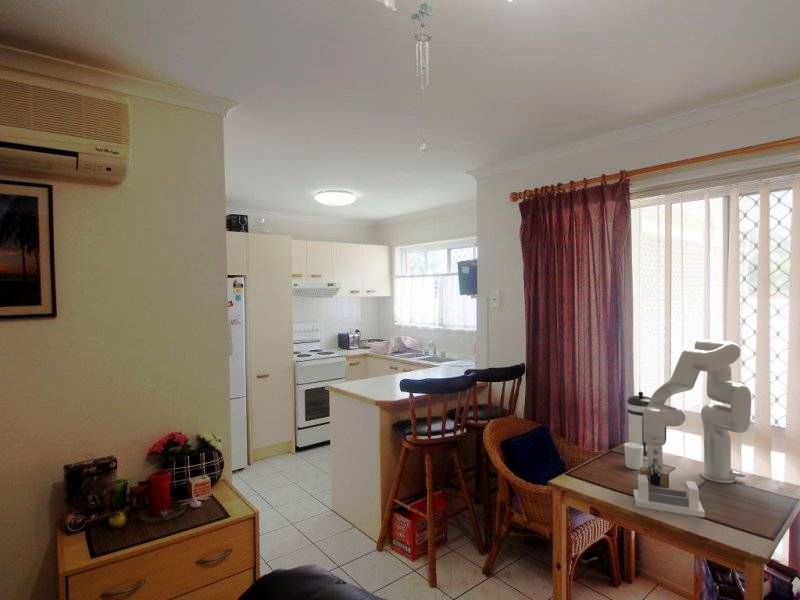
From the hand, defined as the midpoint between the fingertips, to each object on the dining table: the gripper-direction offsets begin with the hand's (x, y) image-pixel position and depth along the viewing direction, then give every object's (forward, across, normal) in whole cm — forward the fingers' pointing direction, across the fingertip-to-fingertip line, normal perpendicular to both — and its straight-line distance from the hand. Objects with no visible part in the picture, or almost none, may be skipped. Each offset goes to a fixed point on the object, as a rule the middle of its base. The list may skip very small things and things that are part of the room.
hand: (654, 480), depth 182 cm
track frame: (+4, -13, -3) cm, 14 cm away
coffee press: (+4, +47, 0) cm, 47 cm away
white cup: (+4, +23, +6) cm, 24 cm away
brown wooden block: (+4, 0, 0) cm, 4 cm away
